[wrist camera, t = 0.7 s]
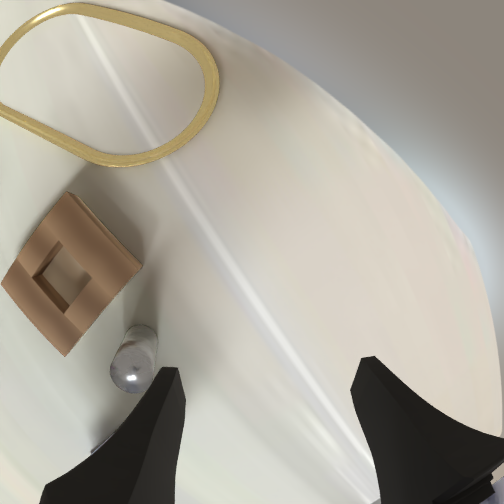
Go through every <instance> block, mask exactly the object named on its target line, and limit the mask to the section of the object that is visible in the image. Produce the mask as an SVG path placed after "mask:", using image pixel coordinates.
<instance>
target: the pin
mask: <svg viewBox="0 0 504 504" xmlns="http://www.w3.org/2000/svg"><path fill="white" fill-rule="evenodd" d="M157 346H158V338H157V335H156V333H155V332H154V331H153V330H152V329H151V328H150V327H148V326H145V325H135V326H133V327H131V328H130V329H129V330H128V331H127V333H126V335H125V337H124V339H123V341H122V343H121V345H120V347H119V349H118V351H117V353H116V356H115V358H114V360H113V362H112V364H111V367H110V375H111V378H112V380H113V382H114V383H115V384H116V386H118V387H119V388H120V389H122V390H123V391H126V392H129V393H141V392H144V391H145V390H147V389H148V388H149V387H150V385H151V383H152V380H153V373H154V366H155V359H156V353H157Z"/></svg>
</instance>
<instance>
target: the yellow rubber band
mask: <svg viewBox="0 0 504 504" xmlns="http://www.w3.org/2000/svg"><path fill="white" fill-rule="evenodd" d="M65 14H80V15H84V16H89V17H93V18H97V19H101V20H105V21H109V22H113V23H117V24H120V25H123V26H127V27H130V28H133V29H136V30H140V31H143V32H146V33H149V34H151V35H154V36H157V37H160V38H163V39H165V40H168V41H170V42H173V43H176V44H178V45H180V46H181V47H183V48H185V49H186V50H187V51H189V52H190V53H191V54H192V55H193V56H194V57H195V58H196V60H197V61H198V63H199V64H200V66H201V68H202V71H203V74H204V78H205V94H204V98H203V102H202V105H201V107H200V109H199V111H198V113H197V115H196V116H195V118H194V119H193V121H192V122H191V123H190V124H189V126H188V127H187V128H186V129H185V130H184V131H183V132H182V133H180V134H179V135H178V136H177V137H175V138H174V139H172V140H171V141H169V142H168V143H166V144H164V145H162V146H160V147H158V148H156V149H153V150H151V151H148V152H144V153H140V154H135V155H111V154H106V153H102V152H99V151H97V150H94V149H92V148H90V147H88V146H86V145H84V144H82V143H80V142H78V141H76V140H74V139H72V138H70V137H68V136H66V135H64V134H62V133H60V132H58V131H56V130H54V129H52V128H50V127H48V126H46V125H44V124H42V123H40V122H38V121H36V120H34V119H32V118H30V117H28V116H26V115H24V114H22V113H19V112H17V111H15V110H13V109H11V108H9V107H7V106H5V105H3V104H2V103H1V102H0V116H1V117H3V118H5V119H7V120H9V121H11V122H13V123H15V124H17V125H18V126H20V127H22V128H24V129H26V130H28V131H30V132H32V133H34V134H36V135H38V136H40V137H42V138H44V139H46V140H47V141H49V142H51V143H53V144H55V145H57V146H59V147H61V148H63V149H65V150H67V151H69V152H71V153H73V154H74V155H76V156H78V157H80V158H82V159H84V160H86V161H89V162H91V163H94V164H97V165H101V166H107V167H131V166H137V165H143V164H146V163H150V162H153V161H155V160H158V159H161V158H163V157H165V156H167V155H169V154H171V153H172V152H174V151H176V150H178V149H179V148H180V147H182V146H183V145H185V144H186V143H187V142H188V141H190V140H191V139H192V138H193V137H194V136H195V135H196V134H197V133H198V132H199V131H200V130H201V129H202V127H203V126H204V125H205V123H206V122H207V121H208V119H209V117H210V116H211V114H212V112H213V110H214V108H215V105H216V102H217V99H218V94H219V86H220V82H219V72H218V68H217V65H216V63H215V60H214V58H213V57H212V55H211V53H210V52H209V51H208V49H207V48H206V47H205V46H204V45H203V44H202V43H201V42H200V41H199V40H197V39H196V38H194V37H193V36H191V35H189V34H188V33H185V32H183V31H181V30H178V29H175V28H173V27H170V26H167V25H164V24H161V23H158V22H155V21H152V20H149V19H146V18H143V17H139V16H136V15H133V14H129V13H125V12H121V11H118V10H113V9H109V8H105V7H100V6H96V5H91V4H85V3H69V4H63V5H59V6H56V7H53V8H50V9H48V10H46V11H44V12H42V13H40V14H38V15H36V16H35V17H33V18H31V19H30V20H28V21H27V22H26V23H24V24H23V25H22V26H21V27H19V28H18V29H17V30H16V31H15V32H14V33H13V34H12V35H11V36H10V37H9V38H8V39H7V40H6V41H5V42H4V44H3V45H2V46H1V48H0V65H1V63H2V61H3V60H4V58H5V56H6V55H7V53H8V52H9V50H10V49H11V48H12V47H13V45H14V44H15V43H16V42H17V41H18V40H19V39H20V38H21V37H22V36H23V35H25V34H26V33H27V32H28V31H30V30H31V29H32V28H34V27H35V26H37V25H39V24H40V23H42V22H44V21H46V20H48V19H51V18H53V17H56V16H60V15H65ZM95 157H96V158H95ZM139 159H140V160H139ZM134 160H135V161H134ZM116 161H117V162H116ZM123 161H126V162H123Z"/></svg>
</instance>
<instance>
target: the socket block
mask: <svg viewBox="0 0 504 504" xmlns="http://www.w3.org/2000/svg"><path fill="white" fill-rule="evenodd" d="M142 266H143V265H142V264H141V263H140V262H139V261H138V260H137V259H136V258H135V257H134V256H133V255H132V254H131V253H130V252H129V251H128V250H127V249H126V248H125V247H124V246H123V245H122V244H121V243H120V242H119V241H118V240H117V239H116V238H115V236H114V235H113V234H112V233H111V232H110V231H109V230H108V229H107V228H106V227H105V226H104V225H103V224H102V222H101V221H100V220H99V219H98V218H97V217H96V216H95V215H94V214H93V212H92V211H91V210H90V209H89V208H88V207H87V206H86V205H85V203H84V202H83V201H82V200H81V199H80V198H79V196H76V195H74V194H72V193H69V192H67V191H66V192H65V194H64V195H63V196H62V197H61V198H60V199H59V201H58V202H57V203H56V204H55V206H54V207H53V208H52V209H51V211H50V212H49V213H48V214H47V216H46V217H45V218H44V219H43V221H42V222H41V223H40V225H39V226H38V227H37V229H36V230H35V232H34V233H33V234H32V236H31V237H30V239H29V240H28V241H27V243H26V244H25V246H24V247H23V249H22V250H21V252H20V253H19V255H18V256H17V258H16V259H15V261H14V262H13V264H12V266H11V267H10V269H9V270H8V272H7V274H6V275H5V277H4V279H3V280H2V282H1V285H2V286H3V288H4V289H5V290H6V292H7V293H8V294H9V296H10V297H11V298H12V299H13V301H14V302H15V303H16V304H17V306H18V307H19V308H20V309H21V311H22V312H23V313H24V314H25V315H26V316H27V318H28V319H29V320H30V321H31V322H32V323H33V324H34V326H35V327H36V328H37V329H38V330H39V331H40V332H41V333H42V334H43V335H44V336H45V338H46V339H47V340H48V341H49V342H50V343H51V344H52V345H53V346H54V347H55V348H56V349H57V350H58V351H59V352H60V353H61V354H62V355H63V356H64V357H65V356H66V355H67V354H68V353H69V352H70V350H71V349H72V348H73V347H74V346H75V345H76V343H77V342H78V341H79V340H80V338H81V337H82V336H83V335H84V333H85V332H86V331H87V330H88V329H89V327H90V326H91V325H92V324H93V322H94V321H95V320H96V319H97V318H98V316H99V315H100V314H101V313H102V312H103V311H104V309H105V308H106V307H107V306H108V305H109V303H110V302H111V301H112V300H113V299H114V298H115V297H116V295H117V294H118V293H119V292H120V291H121V290H122V289H123V287H124V286H125V285H126V284H127V283H128V282H129V281H130V280H131V278H132V277H133V276H134V275H135V274H136V273H137V272H138V271H139V270H140V269H141V267H142Z"/></svg>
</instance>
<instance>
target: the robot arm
mask: <svg viewBox="0 0 504 504" xmlns="http://www.w3.org/2000/svg"><path fill="white" fill-rule="evenodd" d="M350 391H351V395H352V400H353V404H354V408H355V411H356V414H357V417H358V419H359V422H360V424H361V427H362V430H363V432H364V435H365V437H366V440H367V443H368V445H369V448H370V450H371V453H372V457H373V460H374V464H375V469H376V473H377V478H378V484H379V490H380V497H381V504H504V476H503V477H502V478H500V479H499V480H498V481H497V482H495V483H494V484H493V485H492V484H491V482H490V481H491V480H492V479H493V476H492V472H493V471H494V470H495V469H497V467H499V466H500V465H501V464H502V463H504V438H500V437H496V436H493V435H489V434H486V433H483V432H480V431H478V430H475V429H472V428H470V427H468V426H466V425H464V424H462V423H460V422H458V421H456V420H454V419H452V418H450V417H449V416H447V415H445V414H444V413H442V412H441V411H439V410H438V409H436V408H434V407H433V406H432V405H430V404H429V403H428V402H426V401H425V400H424V399H422V398H421V397H420V396H419V395H417V394H416V393H415V392H414V391H412V390H411V389H410V388H409V387H408V386H407V385H406V384H404V383H403V382H402V381H401V380H400V379H399V378H398V377H397V376H396V375H395V374H393V373H392V372H391V371H390V370H389V369H388V368H387V367H386V366H385V365H384V364H383V363H382V362H381V361H380V360H378V359H377V358H376V357H375V356H371V357H365V358H361V361H360V364H359V367H358V370H357V372H356V375H355V378H354V381H353V384H352V387H351V389H350ZM185 405H186V398H185V394H184V390H183V387H182V383H181V379H180V374H179V370H178V368H175V367H162V368H161V369H160V370H159V372H158V374H157V375H156V377H155V379H154V380H153V382H152V384H151V385H150V387H149V388H148V390H147V391H146V393H145V394H144V396H143V397H142V398H141V400H140V401H139V403H138V404H137V406H136V407H135V408H134V410H133V411H132V412H131V413H130V415H129V416H128V417H127V419H126V420H125V421H124V422H123V424H122V425H121V426H120V427H119V428H118V429H117V430H116V432H114V433H113V434H112V435H111V436H110V437H109V438H108V439H107V440H106V441H105V442H104V443H103V444H102V445H101V446H99V447H98V448H97V449H96V450H95V451H94V452H93V453H92V454H91V455H90V456H89V457H88V458H87V459H85V460H84V461H83V462H81V463H80V464H79V465H77V466H76V467H75V468H73V469H72V470H70V471H69V472H67V473H66V474H64V475H62V476H60V477H59V478H57V479H55V480H53V481H52V482H50V483H48V484H46V485H45V487H44V490H43V492H42V496H41V499H40V503H39V504H175V474H176V466H177V460H178V455H179V449H180V444H181V438H182V432H183V427H184V421H185Z"/></svg>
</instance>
